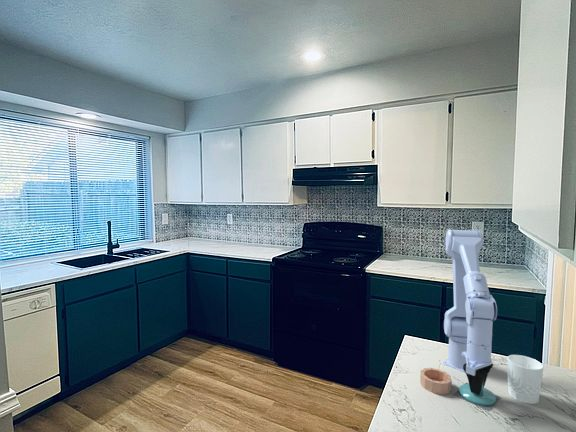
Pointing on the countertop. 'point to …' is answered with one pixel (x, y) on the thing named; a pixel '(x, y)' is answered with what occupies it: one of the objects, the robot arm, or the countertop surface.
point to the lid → (477, 396)
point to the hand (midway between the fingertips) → (477, 390)
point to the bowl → (435, 380)
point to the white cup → (524, 378)
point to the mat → (476, 404)
